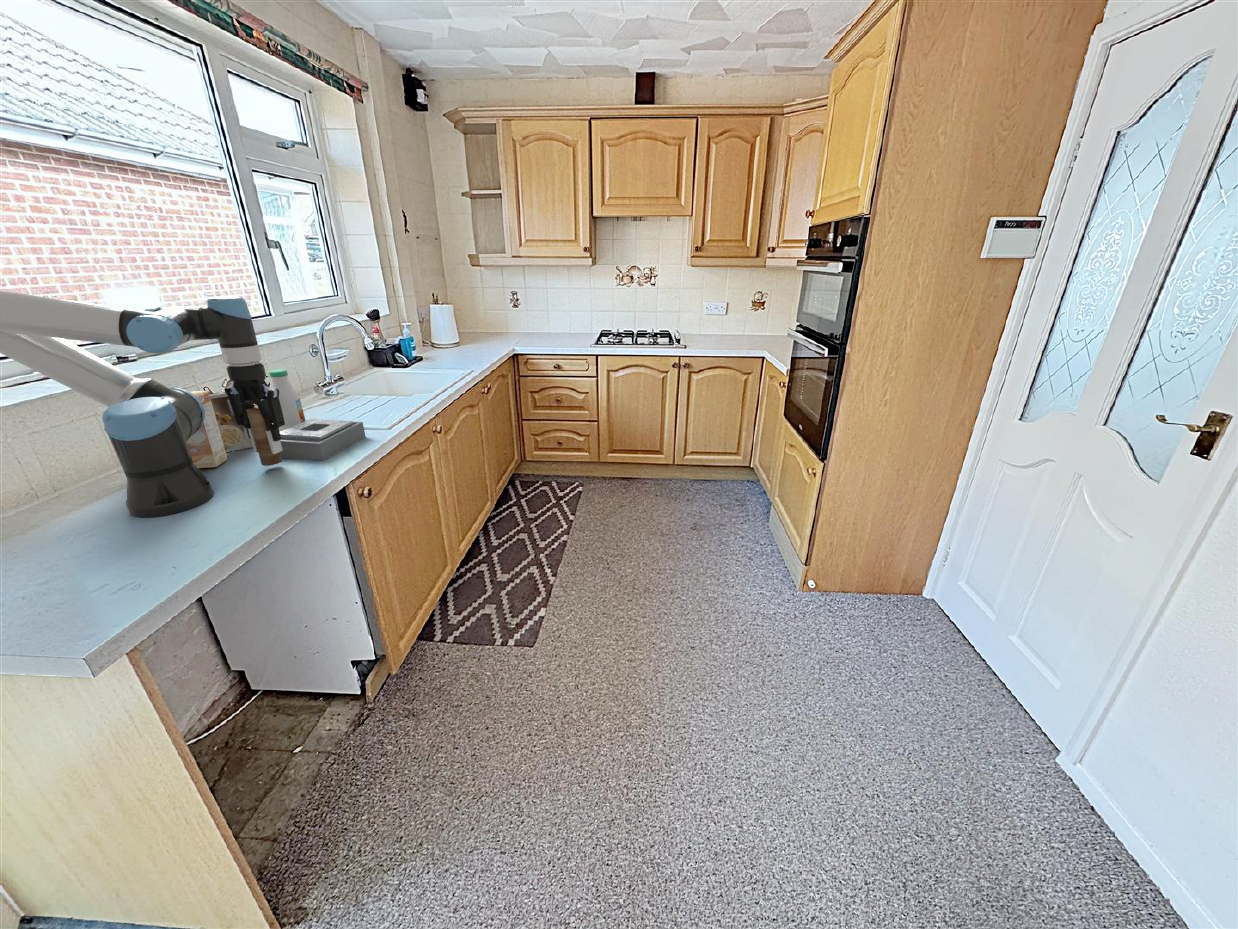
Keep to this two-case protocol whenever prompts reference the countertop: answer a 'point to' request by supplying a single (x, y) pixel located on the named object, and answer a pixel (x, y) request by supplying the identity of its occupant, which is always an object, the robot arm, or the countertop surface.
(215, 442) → the coffeecake box
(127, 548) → the countertop surface
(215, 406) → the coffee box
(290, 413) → the milk bottle
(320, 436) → the bore block
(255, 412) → the peg
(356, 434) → the grey socket base
